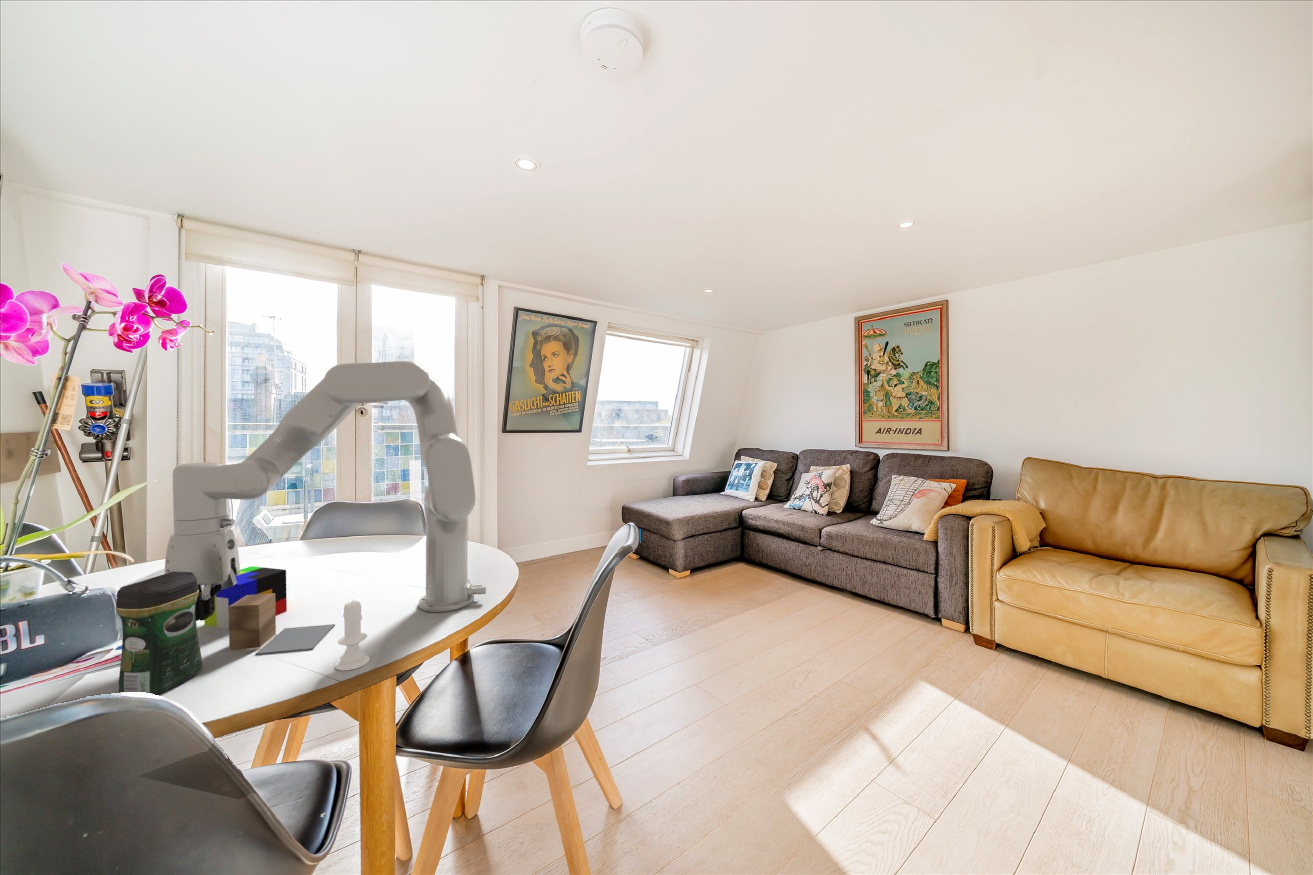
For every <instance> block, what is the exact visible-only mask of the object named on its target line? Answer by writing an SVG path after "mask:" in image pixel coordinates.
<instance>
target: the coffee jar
mask: <svg viewBox="0 0 1313 875" xmlns="http://www.w3.org/2000/svg"><path fill="white" fill-rule="evenodd" d="M198 589H199V588H198V583H197V578H196V576H195V575H194V574H193V573H192V572H176V571H173V572H170V573H167V574H165V573H164V574H160V575H158V576H154V577H151V578H147V579H144V580H141V581H138V582H135V583H131V584H127V585H124V586H121V587H120V588H119V589H118V590H117V592H116V602H115V603H116V604H115V611H116V613H117V616H118V617H119V618H120V620H121V626H122V639H121V640H122V642H121V643H122V644H121V658H120V667H119V673H118V692H119V693H120V692H146V693H153V694H152V695H156V694H160V693H162V692H165V691H166V690H170V689H171V688H173V687H176V686H177V685H179V684H181V683H183V682H185V681H187V680H188V679H190V678H191V677H193V676H196V674H198V673H199V672H200V671H201V670H202V667H203V661H202V659H203V658H202V653H201V652H202V651H201V647H200V641H199V634H198V626H197V621H196V616H195V606H196V600H197V597H198V594H199V590H198Z"/></svg>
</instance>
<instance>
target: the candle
mask: <svg viewBox="0 0 1313 875" xmlns="http://www.w3.org/2000/svg"><path fill="white" fill-rule="evenodd" d="M343 607H344V608H343V615H342V616H343V619H344V621H343V622H344V624H343V625H344V636H342V637H340V638H338V640H337V643H338V645H341V646H346V648H345V651H344V653H343V655H341V656H340V659H339V661H338V662H337V663H336V664H335V669H336V670H338V671H341V672H344V671H353V670H356V669H359V668H361V667H364V666H365V665H367V664H368V663H369V662H370V657H369V656H368V655H366V653H365V651H364V650H362V648H361V646H360V645H359V644H361V642H364V641H365V640H366V639H367V638H368V634H367V633H364V632H361V631H362V630H361V629H362V627H361V626H362V623H361V622H362V619H363V616H362V604H361V602H360V601H358V600H355V599H353V600H352V601H351V602H347V603H345V604H344V606H343Z"/></svg>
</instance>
